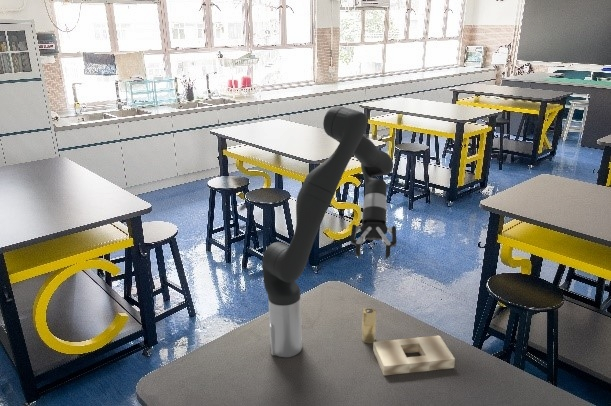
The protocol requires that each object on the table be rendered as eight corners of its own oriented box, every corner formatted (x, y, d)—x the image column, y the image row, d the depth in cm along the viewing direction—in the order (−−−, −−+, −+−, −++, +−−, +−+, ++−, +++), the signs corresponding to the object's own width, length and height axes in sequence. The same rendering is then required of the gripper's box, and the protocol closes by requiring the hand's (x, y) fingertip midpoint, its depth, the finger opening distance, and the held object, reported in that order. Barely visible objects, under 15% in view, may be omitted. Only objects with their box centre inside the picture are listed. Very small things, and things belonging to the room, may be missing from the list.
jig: (383, 375, 132) (384, 366, 131) (373, 350, 143) (373, 341, 142) (454, 367, 135) (454, 358, 134) (438, 343, 145) (439, 335, 144)
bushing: (363, 344, 146) (364, 315, 142) (360, 336, 149) (361, 307, 146) (376, 342, 146) (377, 313, 143) (373, 334, 150) (374, 306, 146)
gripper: (352, 204, 155) (348, 252, 149) (397, 205, 153) (396, 254, 146) (353, 213, 162) (350, 260, 155) (396, 215, 160) (395, 262, 153)
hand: (372, 257), depth 151 cm, fingers open, 8 cm apart
